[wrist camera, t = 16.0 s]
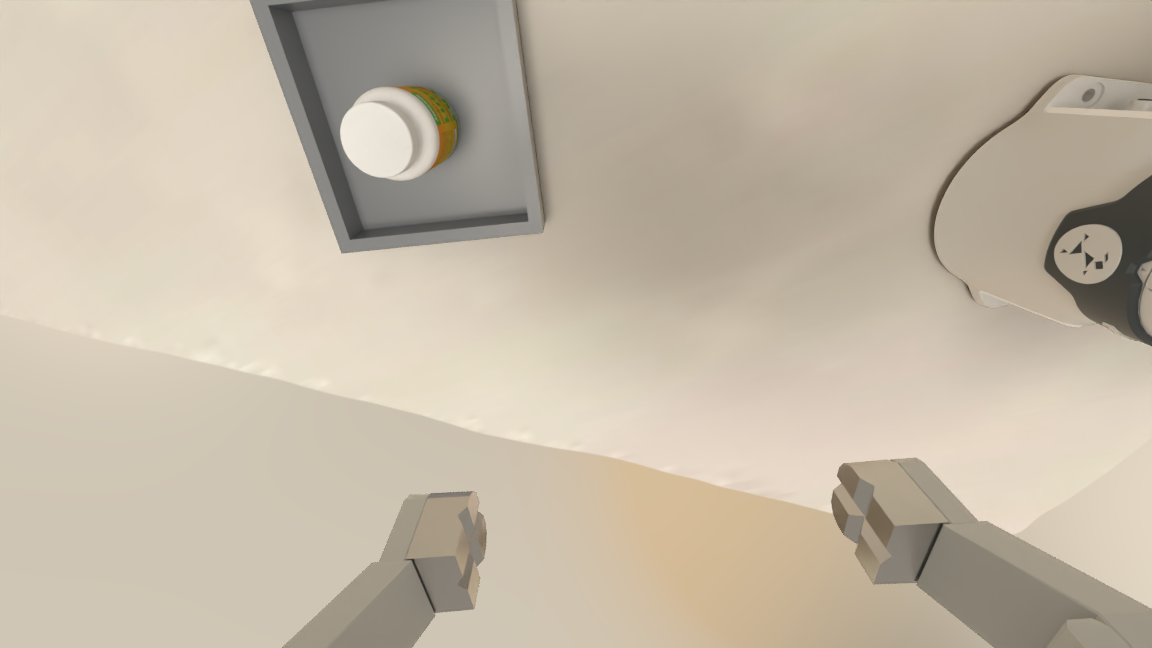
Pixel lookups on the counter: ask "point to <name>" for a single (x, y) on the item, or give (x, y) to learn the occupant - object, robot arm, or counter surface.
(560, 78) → the counter surface
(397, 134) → the supplement bottle
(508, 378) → the counter surface
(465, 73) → the parts tray
